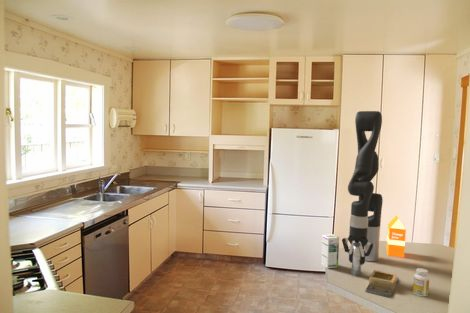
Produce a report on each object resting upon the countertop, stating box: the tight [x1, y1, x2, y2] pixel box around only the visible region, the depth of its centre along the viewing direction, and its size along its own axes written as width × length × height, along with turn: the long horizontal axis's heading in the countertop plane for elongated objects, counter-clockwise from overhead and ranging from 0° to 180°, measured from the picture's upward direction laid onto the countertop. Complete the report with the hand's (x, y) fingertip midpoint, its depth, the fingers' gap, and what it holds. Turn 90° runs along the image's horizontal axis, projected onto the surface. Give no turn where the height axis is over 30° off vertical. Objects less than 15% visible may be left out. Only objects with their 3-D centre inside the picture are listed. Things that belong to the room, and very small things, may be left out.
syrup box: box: [320, 233, 340, 270], centre depth 168 cm, size 6×6×14 cm
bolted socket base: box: [365, 269, 399, 298], centre depth 149 cm, size 21×9×4 cm, turn 148°
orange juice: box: [386, 214, 407, 258], centre depth 188 cm, size 8×9×20 cm
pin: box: [350, 242, 363, 277], centre depth 159 cm, size 5×5×15 cm
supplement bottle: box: [412, 267, 430, 297], centre depth 142 cm, size 5×5×10 cm
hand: (356, 263), depth 159 cm, fingers closed on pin, 4 cm apart
